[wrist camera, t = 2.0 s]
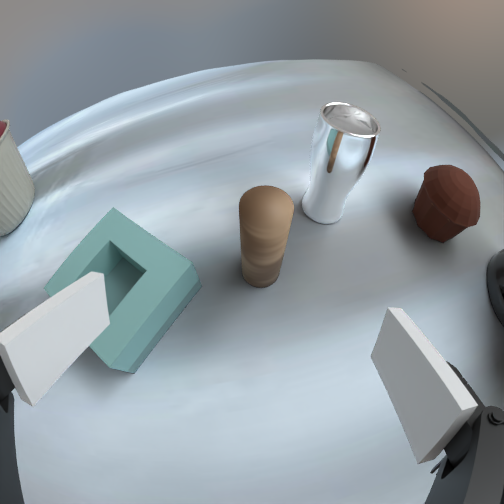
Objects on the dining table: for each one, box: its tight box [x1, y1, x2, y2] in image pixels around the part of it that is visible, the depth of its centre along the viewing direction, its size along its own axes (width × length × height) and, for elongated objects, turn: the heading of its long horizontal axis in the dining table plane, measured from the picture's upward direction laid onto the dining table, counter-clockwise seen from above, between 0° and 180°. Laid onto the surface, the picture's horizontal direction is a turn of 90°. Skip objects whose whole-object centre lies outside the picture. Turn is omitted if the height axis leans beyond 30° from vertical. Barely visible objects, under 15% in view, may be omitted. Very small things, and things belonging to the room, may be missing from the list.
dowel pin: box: [239, 186, 294, 288], centre depth 27 cm, size 4×4×12 cm
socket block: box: [44, 207, 202, 373], centre depth 27 cm, size 13×13×6 cm
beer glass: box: [302, 102, 381, 224], centre depth 30 cm, size 7×7×15 cm
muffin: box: [412, 165, 480, 243], centre depth 32 cm, size 12×11×10 cm
